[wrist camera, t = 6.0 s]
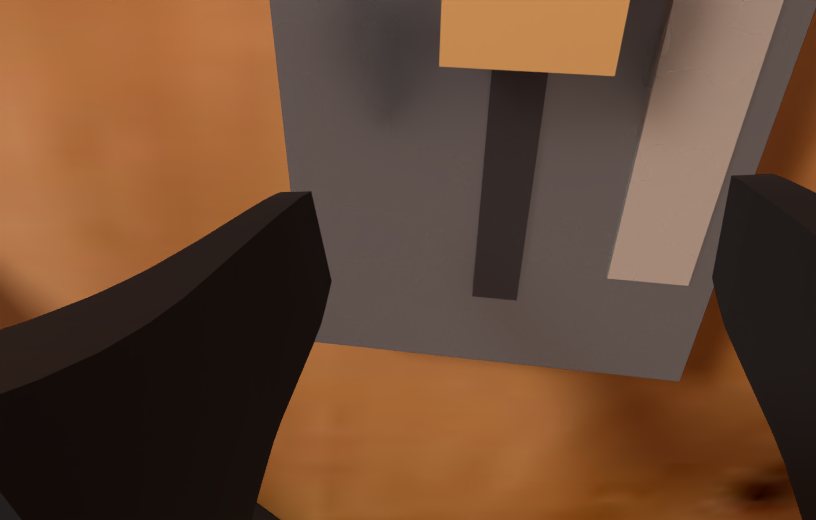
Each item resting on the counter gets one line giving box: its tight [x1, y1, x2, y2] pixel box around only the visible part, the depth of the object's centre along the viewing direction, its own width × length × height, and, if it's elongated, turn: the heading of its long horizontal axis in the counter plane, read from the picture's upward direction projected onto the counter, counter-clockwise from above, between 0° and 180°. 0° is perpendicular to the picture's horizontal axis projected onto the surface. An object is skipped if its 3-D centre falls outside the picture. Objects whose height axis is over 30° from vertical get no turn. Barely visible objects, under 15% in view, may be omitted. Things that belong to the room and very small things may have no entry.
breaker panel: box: [270, 0, 816, 382], centre depth 16 cm, size 11×14×3 cm
